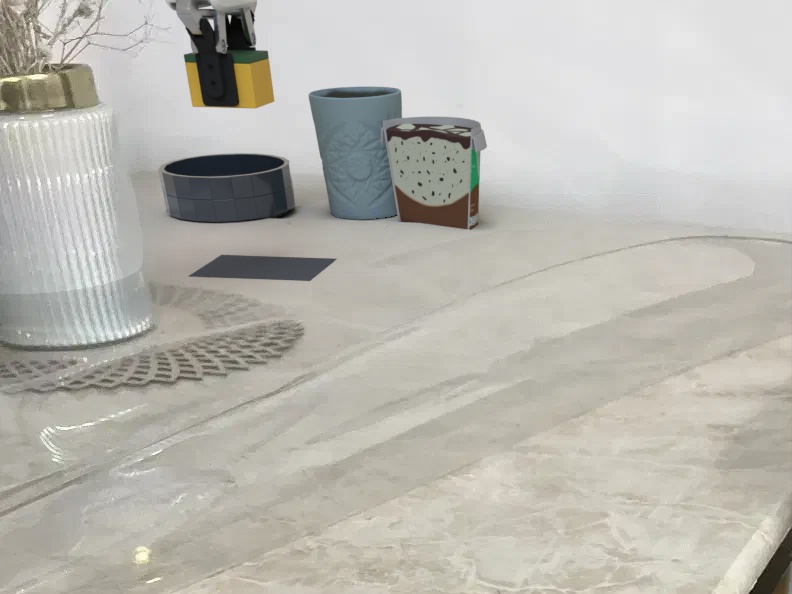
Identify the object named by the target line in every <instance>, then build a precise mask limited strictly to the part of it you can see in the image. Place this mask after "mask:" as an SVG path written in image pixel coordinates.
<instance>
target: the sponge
mask: <svg viewBox="0 0 792 594" xmlns="http://www.w3.org/2000/svg"><path fill="white" fill-rule="evenodd" d="M226 53H232V57H233V64H234V70H235V77H236V84H237V90H238V97H239V104H238V105H237V106H235V107H220V106H206V105H204V103H203V101H202V95H201V89H200V83H199V77H198V71H197V65H196V59H195V54H194V53H193V51H192V52H190V53H189V52H188V53H184V54H183V59H184V67H185V71H186V77H187V84H188V89H189V96H190V101H191V106H192V108H219V109H220V108H222V109H224V108H225V109H230V108H231V109H258V108H261V107H264V106H267V105H269V104H272V103H274V102H275V95H274V87H273V79H272V71H271V65H270V57H269V51H268V50H258V49H256V50H227V52H226Z"/></svg>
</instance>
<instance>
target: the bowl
mask: <svg viewBox="0 0 792 594" xmlns="http://www.w3.org/2000/svg"><path fill="white" fill-rule="evenodd" d="M158 174H159V175H158V176H159V179H160V184H161V190H162V195H163V199H164V200H163V201H164V205H165V209H166V213H167V214H168V215H169V216H171V217H173V218H177V219H178V220H179V219H180V220H183V221H184V220H185V221H191V222H203V223H205V222H207V223H208V222H209V223H210V222H211V223H222V222H223V223H224V222H226V223H227V222H241V221H249V220H250V221H251V220H258V219H277V218H280V217H282V216H283V215H286V213H287V212H289V211H290V210H292V209H293V208H296V197H295V189H294V183H293V175H292V167H291V161H290V160H289V159H288V158H286V157H283V156H280V155H279V156H278V155H275V154H265V153H256V152H255V153H253V152H251V153H250V152H247V153H244V152H240V153H239V152H235V153H231V152H230V153H215V154H204V155H203V154H202V155H195V156H188V157H183V158H179V159H175V160H171V161H168V162H165V163H164V164H161V165H160V166H159V168H158Z"/></svg>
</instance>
